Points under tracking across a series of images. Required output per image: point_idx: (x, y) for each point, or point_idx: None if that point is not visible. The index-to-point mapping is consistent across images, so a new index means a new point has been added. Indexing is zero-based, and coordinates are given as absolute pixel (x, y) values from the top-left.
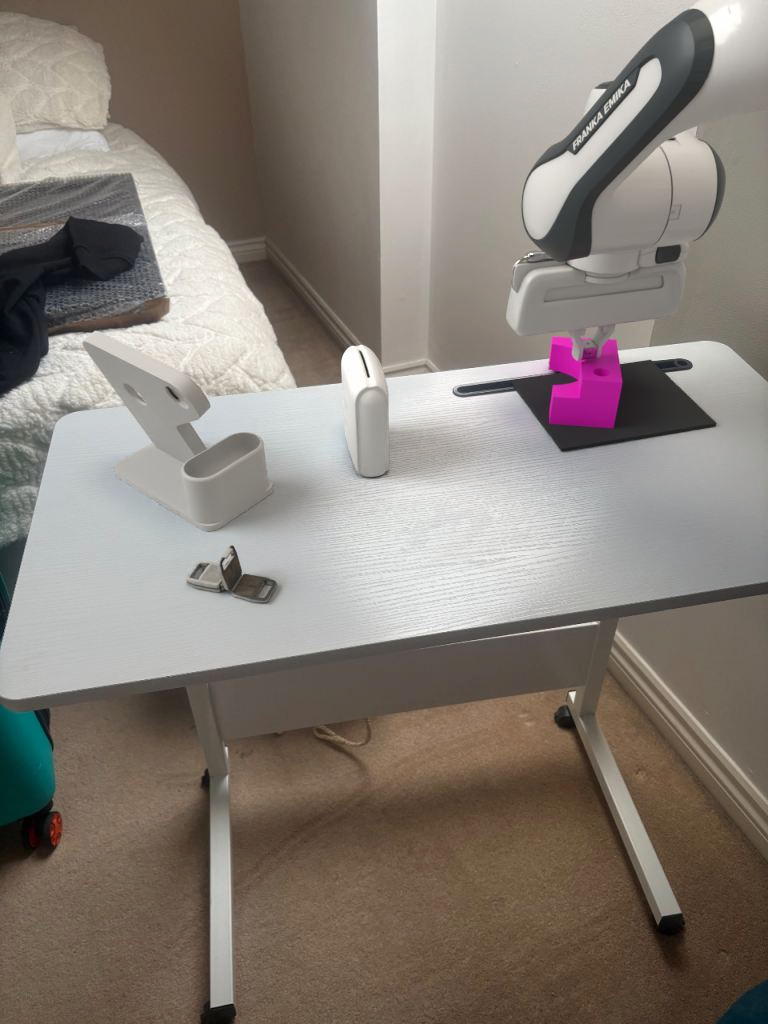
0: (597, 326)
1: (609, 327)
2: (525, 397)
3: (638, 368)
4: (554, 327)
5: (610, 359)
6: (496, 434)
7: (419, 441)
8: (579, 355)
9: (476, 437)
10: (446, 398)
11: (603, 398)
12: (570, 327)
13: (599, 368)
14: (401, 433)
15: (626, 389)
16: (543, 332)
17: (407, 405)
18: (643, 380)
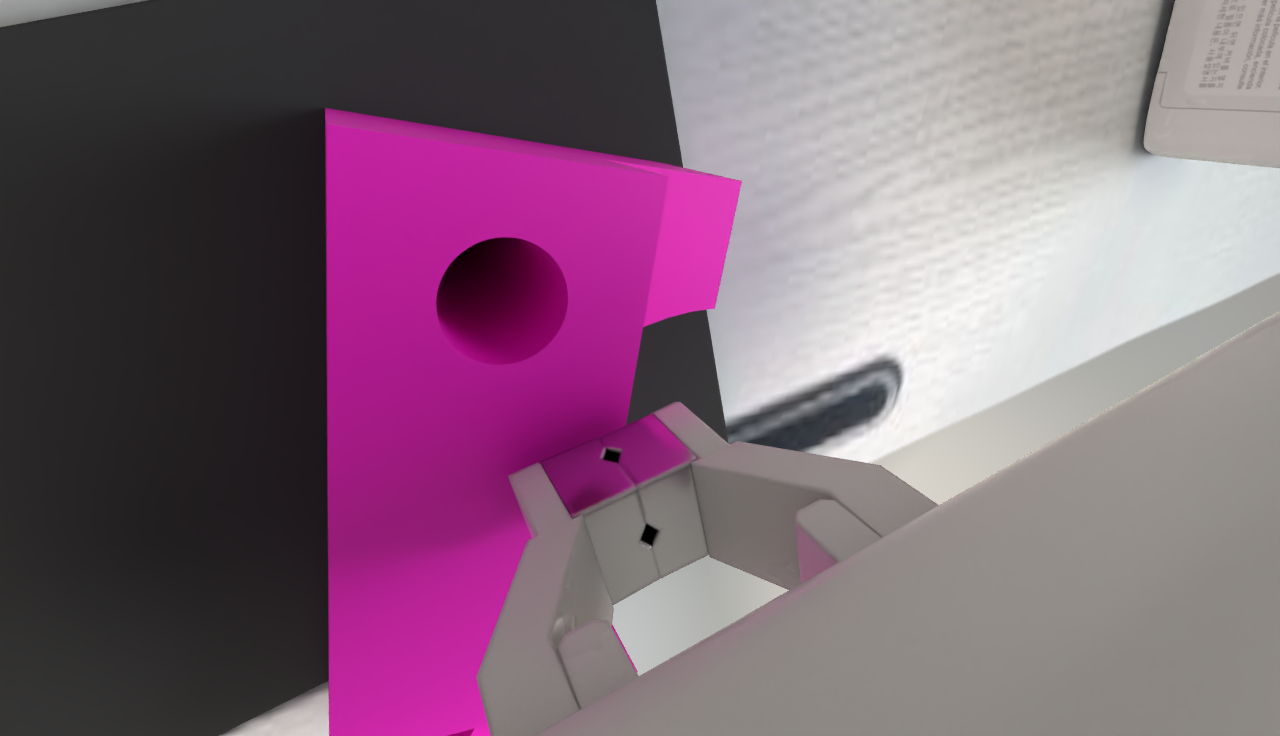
0: (772, 601)
1: (565, 691)
2: (712, 367)
3: (139, 716)
4: (1255, 383)
5: (405, 503)
6: (850, 108)
7: (1065, 71)
8: (692, 417)
9: (915, 88)
10: (926, 345)
11: (451, 136)
12: (1090, 453)
13: (509, 363)
14: (1087, 126)
15: (220, 516)
16: (1269, 329)
17: (1024, 292)
18: (105, 622)
